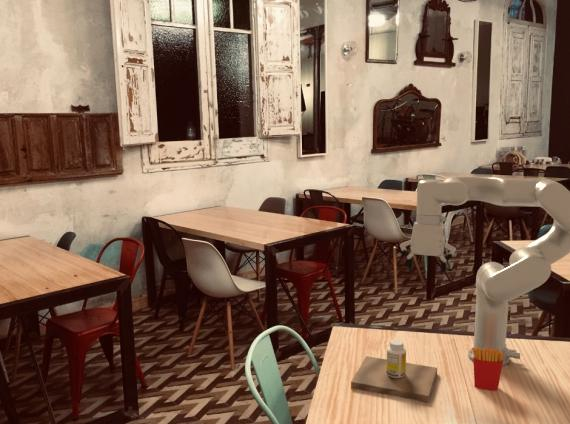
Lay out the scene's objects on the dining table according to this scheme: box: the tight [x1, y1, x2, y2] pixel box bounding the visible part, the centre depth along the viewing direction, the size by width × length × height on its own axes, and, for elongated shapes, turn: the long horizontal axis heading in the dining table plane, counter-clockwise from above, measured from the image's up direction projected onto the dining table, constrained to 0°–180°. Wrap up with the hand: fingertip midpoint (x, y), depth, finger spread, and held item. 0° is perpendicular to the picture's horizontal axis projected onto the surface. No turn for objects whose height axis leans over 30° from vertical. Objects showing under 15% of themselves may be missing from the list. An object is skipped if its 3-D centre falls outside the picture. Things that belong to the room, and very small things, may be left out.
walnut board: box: [350, 355, 438, 404], centre depth 165 cm, size 22×18×2 cm
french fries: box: [471, 347, 503, 392], centre depth 160 cm, size 8×4×12 cm, turn 71°
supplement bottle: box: [386, 339, 407, 378], centre depth 164 cm, size 6×6×10 cm
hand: (426, 271), depth 177 cm, fingers open, 9 cm apart
